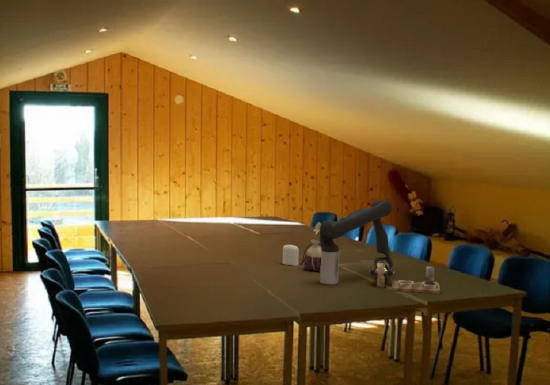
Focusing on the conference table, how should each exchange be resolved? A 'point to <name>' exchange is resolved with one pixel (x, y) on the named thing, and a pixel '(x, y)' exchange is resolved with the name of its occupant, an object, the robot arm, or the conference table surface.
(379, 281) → the maple pin
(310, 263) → the pouch
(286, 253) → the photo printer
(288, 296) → the conference table surface
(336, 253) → the robot arm
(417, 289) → the pin board
